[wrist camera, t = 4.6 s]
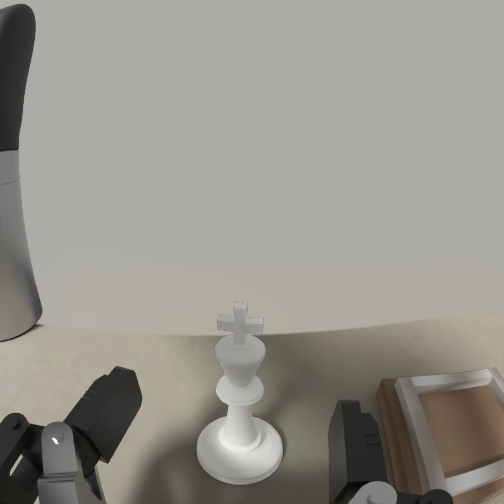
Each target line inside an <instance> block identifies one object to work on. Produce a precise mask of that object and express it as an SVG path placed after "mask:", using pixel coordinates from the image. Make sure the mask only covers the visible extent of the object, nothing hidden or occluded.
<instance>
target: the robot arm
mask: <svg viewBox="0 0 504 504" xmlns="http://www.w3.org/2000/svg"><path fill="white" fill-rule="evenodd" d="M35 31H36V22H35V16H34V13H33V11H32V9H31V8H30V7H29V6H28V5H26V4H17V5H13V6H9V7H6V8H3V9H1V10H0V340H6V339H10V338H13V337H15V336H18V335H20V334H22V333H24V332H25V331H27V330H28V329H30V328H31V327H32V326H33V325H34V324H35V323H37V321H38V320H39V319H40V317H41V315H42V306H41V302H40V299H39V295H38V291H37V287H36V283H35V279H34V274H33V269H32V265H31V260H30V255H29V250H28V245H27V238H26V232H25V225H24V218H23V210H22V200H21V189H20V180H19V179H20V176H19V151H18V149H19V133H20V127H21V121H22V114H23V103H24V95H25V87H26V82H27V77H28V72H29V67H30V63H31V58H32V53H33V47H34V41H35ZM141 403H142V394H141V390H140V387H139V384H138V380H137V377H136V373H135V372H134V371H133V370H130V369H126V368H123V367H119V366H116V367H115V368H114V369H113V370H112V371H111V373H110V374H109V375H103V376H101V377H100V378H98V379H97V380H95V381H94V382H93V384H92V385H91V386H90V387H89V390H88V391H86V393H85V394H84V395H83V397H82V398H81V399H80V400H79V402H78V403H77V404H76V405H75V407H74V408H73V409H72V411H71V412H70V413H69V415H68V416H67V417H66V419H65V420H64V421H63V422H53V423H50V424H48V425H47V426H46V427H44V426H39V425H35V424H30V423H29V422H28V421H27V419H26V418H25V416H24V415H22V414H20V413H12V414H9V415H7V416H6V417H5V418H4V419H3V421H2V422H1V423H0V504H34V502H35V500H36V499H37V497H38V495H39V501H40V504H107V503H106V500H105V496H104V493H103V489H102V485H101V482H100V478H99V473H98V469H97V466H96V464H97V462H98V461H99V460H100V461H103V462H105V463H107V464H108V463H109V461H110V459H111V458H112V456H113V454H114V452H115V451H116V449H117V447H118V445H119V444H120V442H121V440H122V438H123V437H124V435H125V433H126V431H127V430H128V428H129V426H130V424H131V423H132V421H133V419H134V417H135V416H136V414H137V412H138V411H139V409H140V407H141ZM328 444H329V504H454V502H453V498H452V496H451V495H450V494H449V493H448V492H447V491H445V490H442V489H433V490H430V491H428V492H427V493H425V494H424V495H416V494H408V493H402V492H399V491H397V490H395V489H394V488H393V487H392V486H391V485H390V484H389V482H388V480H387V475H386V469H385V462H384V456H383V450H382V445H381V439H380V436H379V429H378V423H377V422H376V420H375V419H374V417H373V416H372V415H371V413H361V408H360V403H359V400H338V402H337V405H336V408H335V411H334V414H333V416H332V419H331V422H330V426H329V432H328ZM20 455H22V456H23V458H22V459H21V461H20V462H19V464H18V465H17V467H16V469H15V470H14V472H13V473H12V475H11V476H10V470H11V469H12V467H13V465H14V464H15V462H16V461H17V459H18V458H19V456H20Z"/></svg>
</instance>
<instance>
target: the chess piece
mask: <svg viewBox="0 0 504 504" xmlns="http://www.w3.org/2000/svg"><path fill="white" fill-rule="evenodd" d="M263 320H264V318H253V317H247V303H246V302H236V303H235V306H234V316H230V315H219V317H218V320H217V327H218V330H222V331H232V332H234V334H231V335H228V336H225V337H224V338H222V339H221V340H220V341H219V342H218V343H217V344H216V347H215V353H216V356H217V359H218V361H219V363H220V364H221V366H222V368H223V370H224V373H225V375H224V376H223V377H222V378H221V379H220V380H219V381H218V384H217V386H216V393H217V396H218V397H219V399H220V400H221V401H223V402H224V403H226V404H228V412H227V416H225V417H222V418H219V419H217V420H215V421H213V422H211V423H210V424H208V425H207V426H206V427H205V428H204V429H203V431H202V432H201V434H200V436H199V438H198V442H197V457H198V460H199V463H200V465H201V466H202V468H203V469H204V470H205V471H206V472H207V473H208V474H209V475H211V476H212V477H214V478H215V479H217V480H219V481H222V482H225V483H229V484H235V485H245V484H252V483H256V482H259V481H261V480H263V479H265V478H267V477H269V476H270V475H271V474H272V473H274V472H275V470H276V469H277V468H278V466H279V465H280V463H281V460H282V456H283V448H282V441H281V438H280V436H279V434H278V432H277V431H276V430H275V429H274V428H273V427H272V426H271V425H270V424H269V423H267V422H265V421H264V420H262V419H259V418H256V417H253V415H252V408H251V405H253V404H255V403H257V402H258V401H259V400H260V399H261V398H262V396H263V394H264V387H263V384H262V382H261V380H260V379H259V378H258V377H257V376H255V374H256V371H257V369H258V367H259V366H260V364H261V363H262V361H263V359H264V356H265V352H266V349H265V346H264V344H263V342H262V341H261V340H259V339H258V338H256V337H255V336H252V335H249V334H247V333H255V334H262V332H263Z"/></svg>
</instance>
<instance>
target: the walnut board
mask: <svg viewBox="0 0 504 504" xmlns="http://www.w3.org/2000/svg"><path fill="white" fill-rule="evenodd" d="M377 397H378V402H379V406H380V410H381V414H382V419H383V423H384V428H385V432H386V437H387V442H388V447H389V452H390V457H391V463H392V468H393V474H394V480H395V486H396V490H397V491H399V492H402V493H408V494H416V495H424V494H425V493H427V492H428V491H430V490H433V489H442V490H445V491H447V492H448V493H449V494H450V495H451V496H452V498H453V502H454V504H480V503H482V502H484V501H487V500H489V499H491V498H493V497H495V496H498V495H500V494H502V493H504V379H503V378H502V376H501V375H500V373H499V372H498V370H497V369H496V367H495V368H489V369H483V370H476V371H469V372H461V373H452V374H442V375H431V376H417V377H398V378H397V379H382V381H381V384H380V386H379V389H378V391H377Z"/></svg>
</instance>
